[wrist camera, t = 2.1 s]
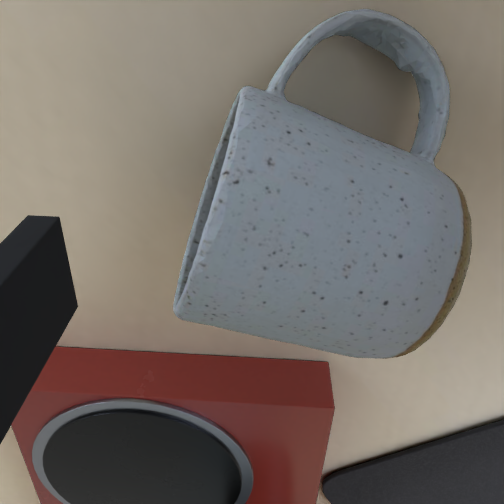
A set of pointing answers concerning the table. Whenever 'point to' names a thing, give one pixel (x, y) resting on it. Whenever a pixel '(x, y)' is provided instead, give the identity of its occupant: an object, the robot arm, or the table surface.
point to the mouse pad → (429, 473)
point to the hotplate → (202, 407)
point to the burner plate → (140, 456)
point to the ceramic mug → (330, 216)
